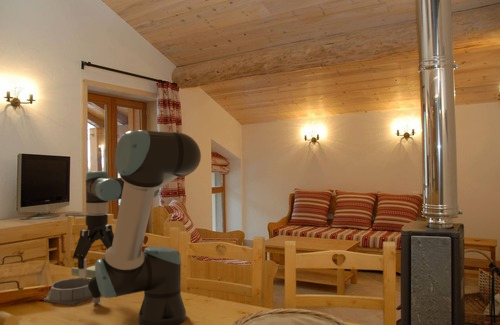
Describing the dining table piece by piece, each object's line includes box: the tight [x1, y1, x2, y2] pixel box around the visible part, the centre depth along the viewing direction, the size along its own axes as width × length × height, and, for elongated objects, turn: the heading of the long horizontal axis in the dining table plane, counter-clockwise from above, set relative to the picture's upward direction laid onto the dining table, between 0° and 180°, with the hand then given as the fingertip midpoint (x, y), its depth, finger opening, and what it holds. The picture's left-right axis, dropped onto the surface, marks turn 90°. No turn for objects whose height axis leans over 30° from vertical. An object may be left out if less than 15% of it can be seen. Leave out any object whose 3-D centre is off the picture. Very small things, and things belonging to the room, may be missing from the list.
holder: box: [43, 277, 93, 306], centre depth 157 cm, size 16×16×5 cm
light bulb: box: [88, 277, 102, 306], centre depth 148 cm, size 6×6×10 cm
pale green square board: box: [71, 265, 96, 279], centre depth 173 cm, size 16×16×3 cm
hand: (96, 272), depth 149 cm, fingers open, 13 cm apart
